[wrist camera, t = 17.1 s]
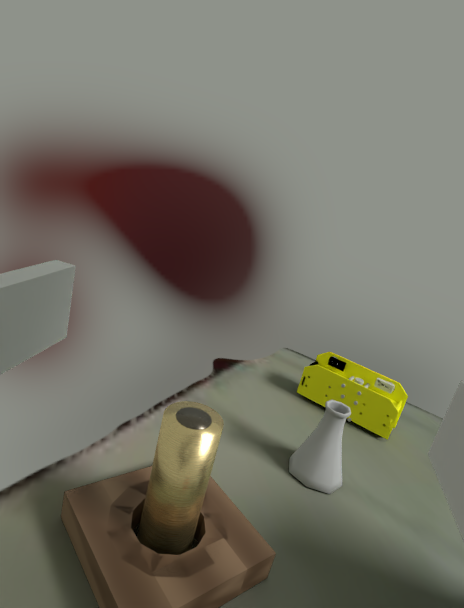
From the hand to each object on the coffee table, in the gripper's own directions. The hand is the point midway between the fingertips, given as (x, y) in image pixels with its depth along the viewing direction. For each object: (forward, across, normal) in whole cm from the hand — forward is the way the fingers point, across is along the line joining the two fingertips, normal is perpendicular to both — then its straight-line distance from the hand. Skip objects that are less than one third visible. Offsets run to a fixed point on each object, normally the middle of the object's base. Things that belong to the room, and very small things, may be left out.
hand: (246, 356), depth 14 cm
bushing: (+17, -4, -28) cm, 33 cm away
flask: (+35, +10, -28) cm, 46 cm away
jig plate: (+17, -4, -28) cm, 33 cm away
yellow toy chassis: (+54, +15, -28) cm, 62 cm away
